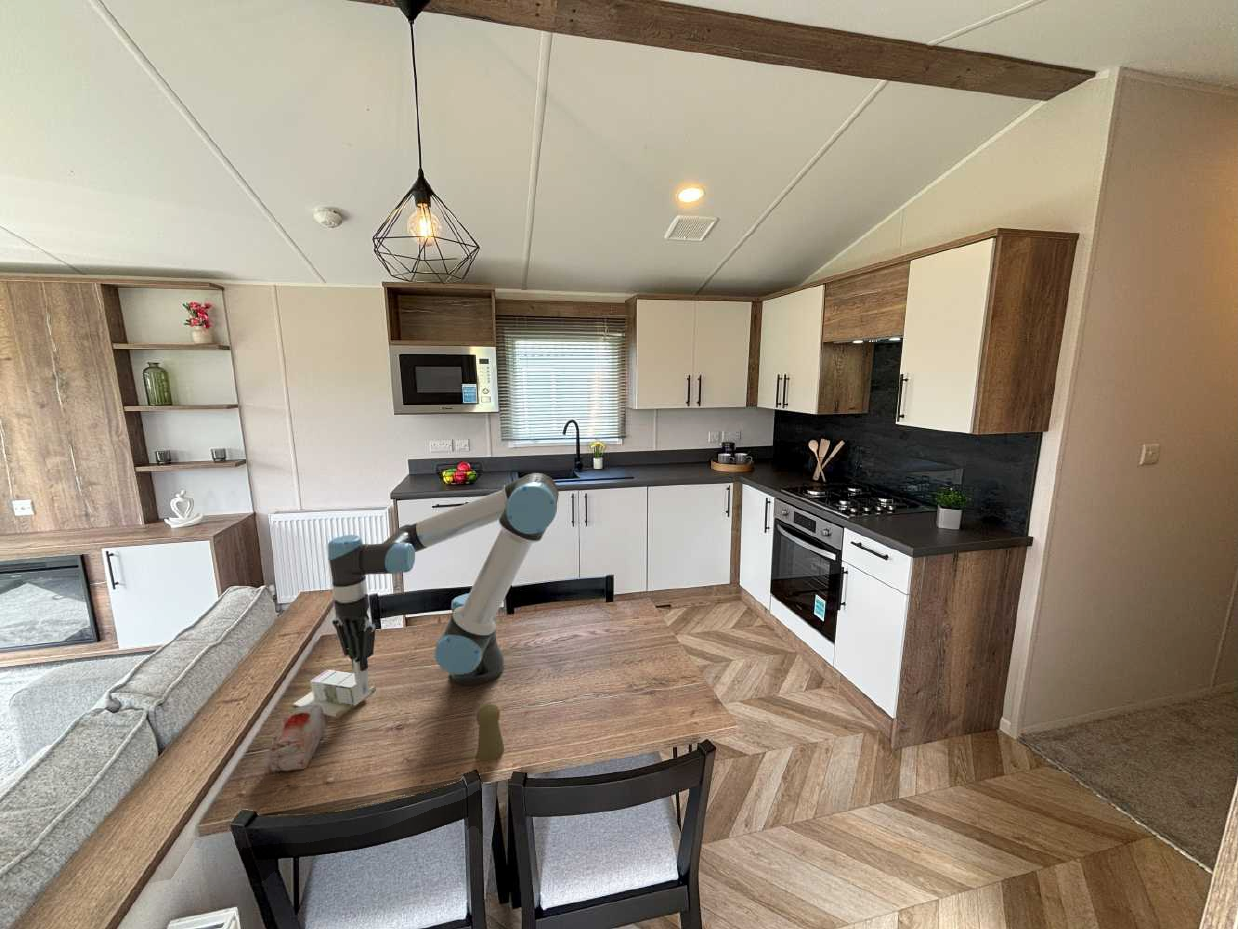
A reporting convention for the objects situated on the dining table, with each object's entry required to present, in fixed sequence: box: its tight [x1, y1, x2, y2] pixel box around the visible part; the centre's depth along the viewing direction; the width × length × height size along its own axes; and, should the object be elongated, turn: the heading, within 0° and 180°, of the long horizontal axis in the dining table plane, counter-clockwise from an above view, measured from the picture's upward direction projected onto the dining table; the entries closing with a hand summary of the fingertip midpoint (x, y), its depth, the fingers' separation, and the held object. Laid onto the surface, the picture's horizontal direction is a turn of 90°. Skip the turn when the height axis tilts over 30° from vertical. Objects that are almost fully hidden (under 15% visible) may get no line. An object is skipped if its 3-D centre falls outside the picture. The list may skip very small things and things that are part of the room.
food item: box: [267, 704, 327, 773], centre depth 114 cm, size 14×8×10 cm, turn 14°
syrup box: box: [310, 669, 372, 707], centre depth 132 cm, size 6×6×14 cm
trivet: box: [292, 685, 377, 719], centre depth 134 cm, size 16×12×1 cm
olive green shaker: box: [476, 703, 505, 762], centre depth 113 cm, size 6×6×11 cm
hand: (361, 680), depth 129 cm, fingers closed
